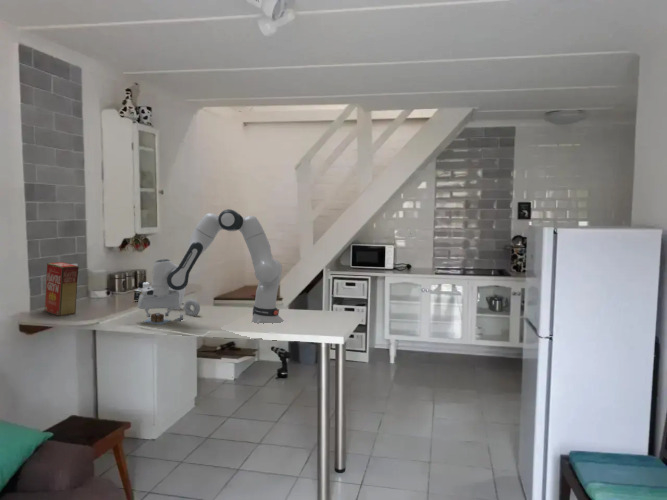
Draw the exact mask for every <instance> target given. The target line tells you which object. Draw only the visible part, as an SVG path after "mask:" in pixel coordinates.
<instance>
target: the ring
mask: <svg viewBox="0 0 667 500" xmlns="http://www.w3.org/2000/svg"><path fill="white" fill-rule="evenodd" d="M156 313H157V312H156ZM156 313H150V314H151V315H150V318H151V321H153V322H162V321H163V320H164V319H165V318H164V317H165V314H164V313H160V316H156Z"/></svg>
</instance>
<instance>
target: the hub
mask: <svg viewBox="0 0 667 500" xmlns="http://www.w3.org/2000/svg"><path fill="white" fill-rule="evenodd" d="M160 314H161V313H160V312H156V316H160ZM170 321H171V319H166V318H164V320H163V321H162V322H153V321H151V317H149V318H148V319H146V320H143V322H144V323H148V324H153V325H164V324H166V323H168V322H170Z"/></svg>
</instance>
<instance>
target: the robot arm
mask: <svg viewBox="0 0 667 500" xmlns="http://www.w3.org/2000/svg"><path fill="white" fill-rule="evenodd" d="M222 230H225V231H228V232H236V231H238V232H240V233H241V235H242V237H243V239H244V241H245V242H244V243H245V244H246V247H247V249H248V251H249V254H250V257H251V261H252V266H253V270H254V276H255V278H256V280H258V283H257V288H256V291H255V298H254V305H253V308H252V319H251V323H252V322H254V323H257V324H259V323H263V324H264V323H272V324H273V323H281V322H283V321H285V320H284V319H283V317H281V316H280V315H279V314H280V308H277V307H276V306H277V297H278V291H279V287H280V281H281V278H282V277H281V276H282V272H283V266H282V264H281V262H280V261H278V260H277V259H274V258H273V254H272V250H271V245H270V243H269V240H268V238H267V236H266V233H265V230H264V228H263V226H262V224H261V223H260V221H259V219H258V218H257V216H254V215H247V216H242V215H241V214H240V213H239V212H238V211H237V210H234V209H224V210H222V211H221V212H220V213H219V215H218V214H215V213H212V212H208V213H206V214H205V215H204V216H202V218H201V219H200V220H199V221H198V223H197V225H196V226H195V228H194V229H193V231H192V233H191V236H190V238H189V243H188V246H187V249H186V250H187V251H186V252H185V254H184V256H183V257H182V259H181V261H180V262H179V265H178V264H176V263H174V262H173V261H171V260H170V259H167V258H166V259H165V258H163V259H158V260H156V261H155V262H154V263H153V267H152V274H151V277H152V278H151V279H152V281H151V285H149V287H146V288H143V289H141V292H142V294H141V295H140V296H139V300H138V302H137V307H138V308H139V309H140V310H144V312H145V313H146V315H145V316H146V318H151V314H152V313H150V312H149V311H150V309H151V310H154V309H167V311H166V312H164V317H169V316H170V313H171V312H172V310H173V309H172V308H177V307H178V306H179V292H178V291H177V290H181V289H183V288H185V287H186V288H187V286H188V283H189V279H190V273H191V271H192V269H193V268H194V265H196V262H197V261H198V260H199V258H200V257H201V255H202V254H203V253H204V252H205V251H206V250H207V249H208V248H209V247H210V246H211V244H212V243H213V241H214V240H215V238H216V237H217V235H218V233H219V232H220V231H222ZM169 287H170V288H172V289H174V290H169Z"/></svg>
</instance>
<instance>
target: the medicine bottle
mask: <svg viewBox="0 0 667 500" xmlns="http://www.w3.org/2000/svg"><path fill="white" fill-rule="evenodd" d="M149 286H150V282H148V281H139V282H138V285H137V289H134V291H133V293H134V294H133V301H134V300H139V296H140V295H141V294H142V292H141V289H143V288H146V287H149Z"/></svg>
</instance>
